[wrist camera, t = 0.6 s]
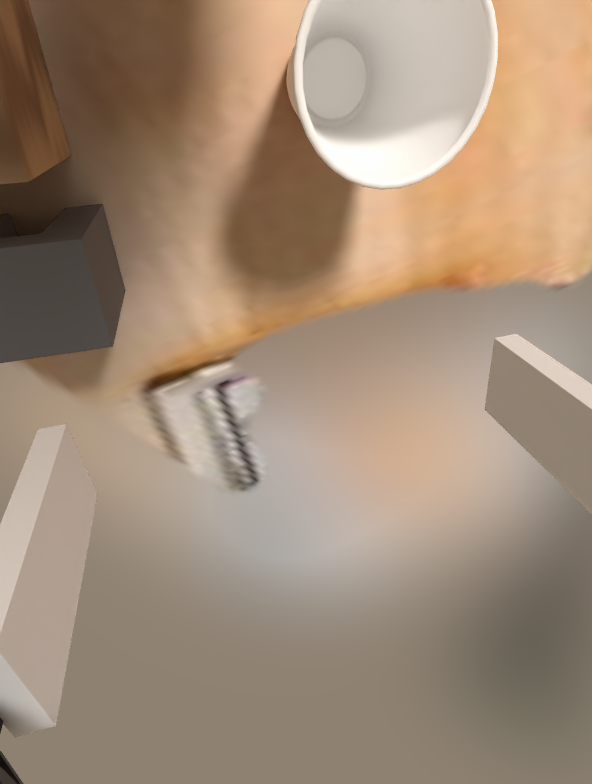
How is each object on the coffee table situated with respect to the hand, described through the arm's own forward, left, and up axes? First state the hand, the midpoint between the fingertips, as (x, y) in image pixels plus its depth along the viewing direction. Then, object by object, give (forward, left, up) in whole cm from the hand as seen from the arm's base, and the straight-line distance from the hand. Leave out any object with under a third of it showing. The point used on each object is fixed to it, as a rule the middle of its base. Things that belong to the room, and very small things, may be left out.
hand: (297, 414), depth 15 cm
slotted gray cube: (0, -12, -24) cm, 26 cm away
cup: (-9, +8, -24) cm, 27 cm away
